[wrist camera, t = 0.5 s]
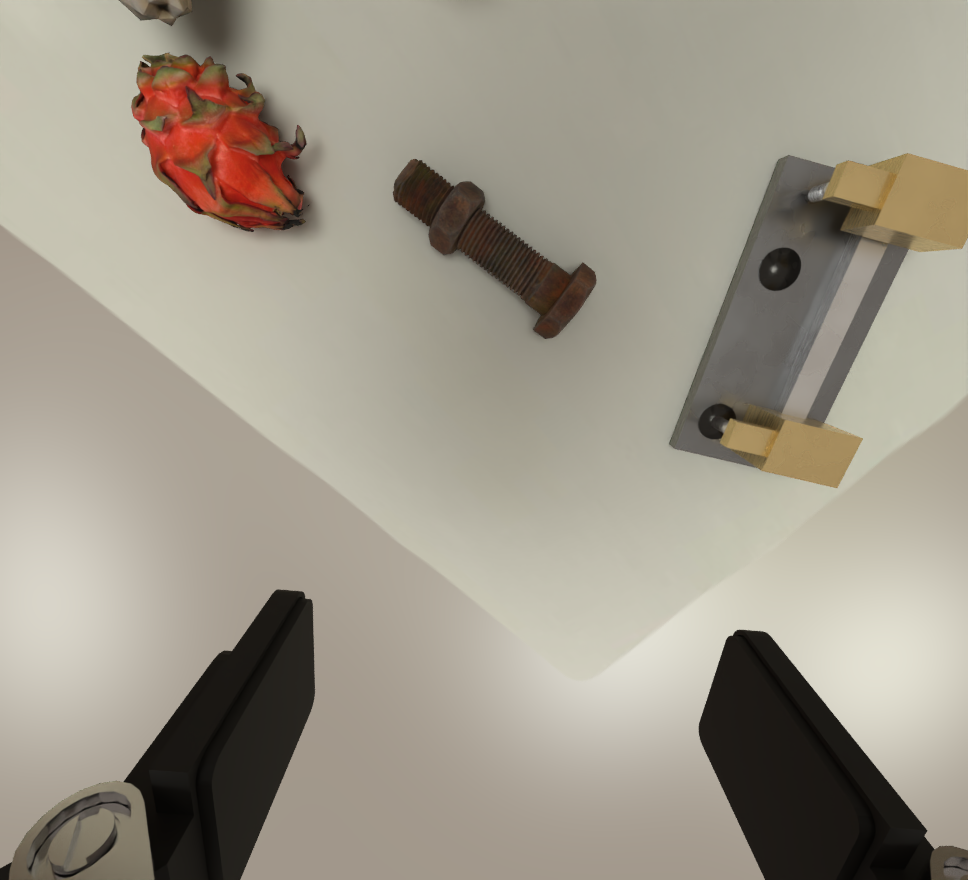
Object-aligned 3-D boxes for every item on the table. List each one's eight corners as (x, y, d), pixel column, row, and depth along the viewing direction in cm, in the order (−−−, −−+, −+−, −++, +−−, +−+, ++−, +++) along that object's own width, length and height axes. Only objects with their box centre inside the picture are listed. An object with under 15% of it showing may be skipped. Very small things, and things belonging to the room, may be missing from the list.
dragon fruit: (195, 84, 33) (327, 221, 38) (95, 147, 30) (251, 288, 34) (191, -23, 26) (356, 163, 30) (58, 45, 23) (262, 241, 27)
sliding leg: (815, 158, 31) (861, 139, 27) (935, 192, 32) (998, 179, 28) (789, 221, 33) (830, 212, 29) (906, 253, 33) (961, 248, 29)
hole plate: (778, 159, 33) (838, 133, 27) (919, 199, 34) (1005, 181, 28) (669, 443, 40) (699, 469, 34) (788, 471, 40) (837, 501, 35)
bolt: (418, 181, 35) (572, 300, 37) (380, 227, 34) (541, 348, 36) (429, 120, 30) (609, 265, 32) (384, 173, 28) (575, 320, 31)
